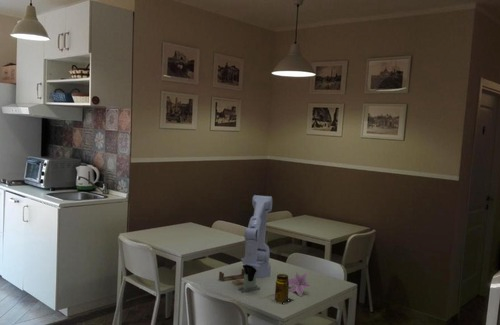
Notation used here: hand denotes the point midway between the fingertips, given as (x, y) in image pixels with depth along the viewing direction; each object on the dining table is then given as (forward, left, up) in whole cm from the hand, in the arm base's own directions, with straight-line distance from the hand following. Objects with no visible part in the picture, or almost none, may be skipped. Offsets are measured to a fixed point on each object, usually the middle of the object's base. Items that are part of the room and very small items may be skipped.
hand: (249, 280), depth 217 cm
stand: (0, 0, -6) cm, 6 cm away
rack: (0, -14, -6) cm, 15 cm away
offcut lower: (0, -10, -6) cm, 11 cm away
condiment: (-10, +14, -6) cm, 18 cm away
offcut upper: (0, -10, -5) cm, 11 cm away
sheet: (0, 0, -5) cm, 5 cm away
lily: (-22, +9, -6) cm, 25 cm away
